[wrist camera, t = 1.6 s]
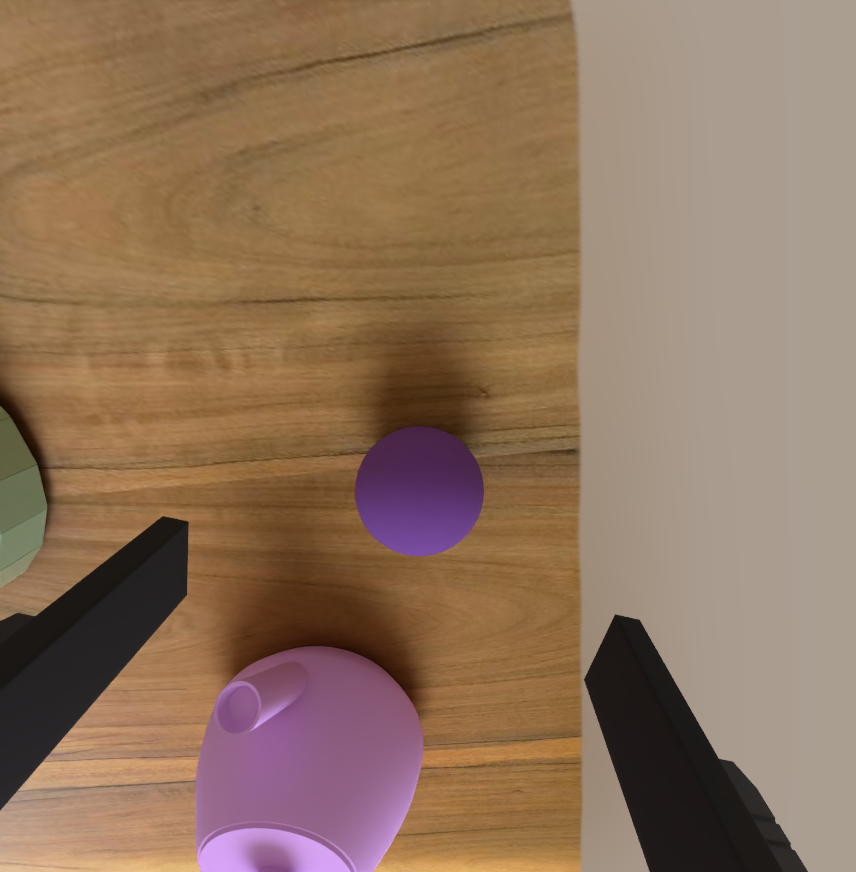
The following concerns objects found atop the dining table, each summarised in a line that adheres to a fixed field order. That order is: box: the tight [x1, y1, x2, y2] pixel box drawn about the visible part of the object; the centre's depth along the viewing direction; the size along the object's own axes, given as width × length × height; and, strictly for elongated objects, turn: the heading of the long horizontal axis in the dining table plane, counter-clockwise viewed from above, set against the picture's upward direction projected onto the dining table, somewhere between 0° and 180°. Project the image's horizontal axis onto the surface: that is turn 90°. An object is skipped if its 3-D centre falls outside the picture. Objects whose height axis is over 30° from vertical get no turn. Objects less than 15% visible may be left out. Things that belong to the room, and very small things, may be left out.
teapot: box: [195, 646, 424, 872], centre depth 24 cm, size 14×20×11 cm
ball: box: [355, 426, 484, 556], centre depth 19 cm, size 6×6×6 cm
